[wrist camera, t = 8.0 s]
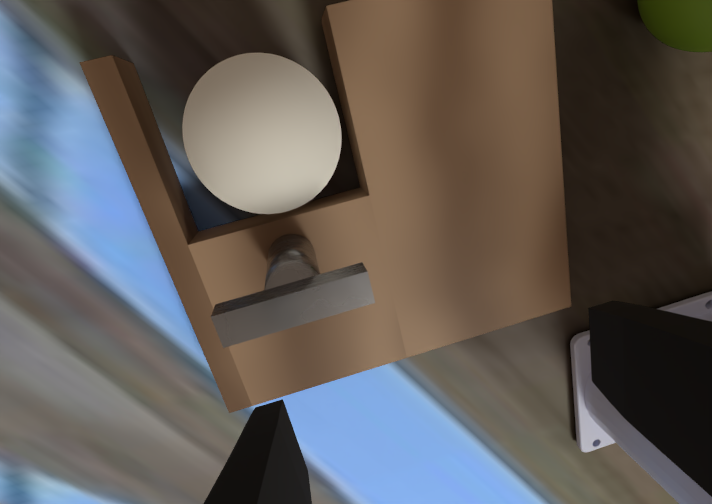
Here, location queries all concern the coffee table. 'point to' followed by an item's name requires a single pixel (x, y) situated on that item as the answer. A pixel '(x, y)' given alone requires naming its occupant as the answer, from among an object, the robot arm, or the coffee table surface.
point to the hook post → (292, 294)
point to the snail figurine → (679, 23)
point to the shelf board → (385, 193)
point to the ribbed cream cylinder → (261, 133)
